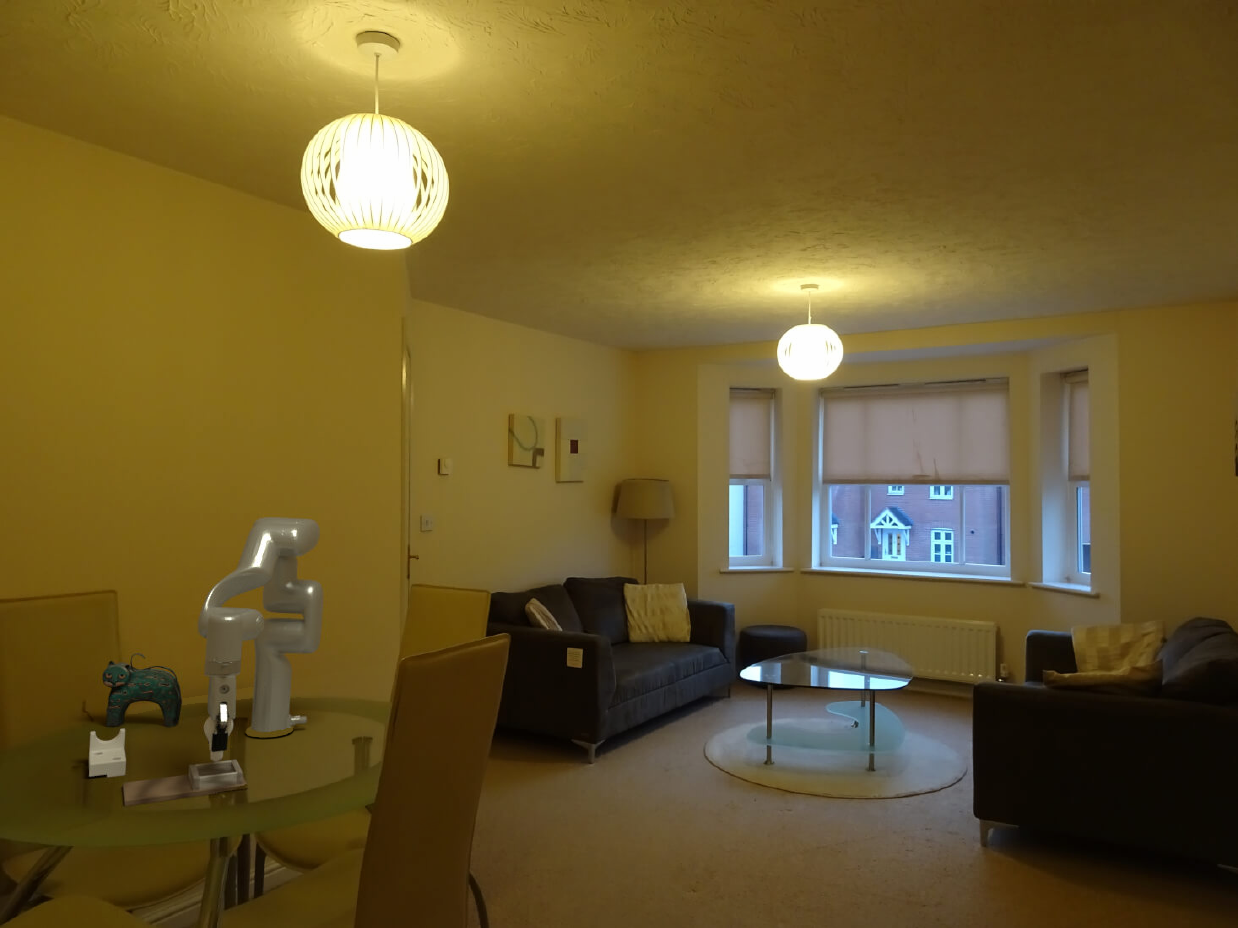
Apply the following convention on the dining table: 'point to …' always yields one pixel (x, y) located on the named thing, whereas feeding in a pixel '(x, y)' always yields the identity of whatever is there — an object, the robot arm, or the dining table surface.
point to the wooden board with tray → (186, 783)
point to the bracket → (107, 756)
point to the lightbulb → (208, 732)
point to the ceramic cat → (141, 691)
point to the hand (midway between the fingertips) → (217, 746)
